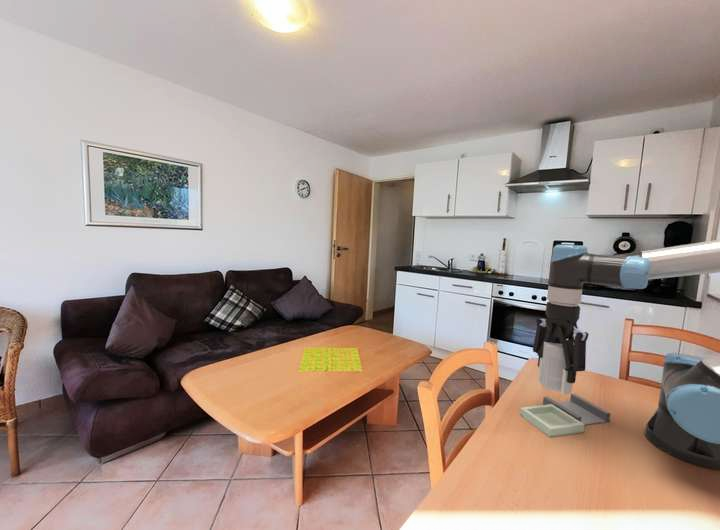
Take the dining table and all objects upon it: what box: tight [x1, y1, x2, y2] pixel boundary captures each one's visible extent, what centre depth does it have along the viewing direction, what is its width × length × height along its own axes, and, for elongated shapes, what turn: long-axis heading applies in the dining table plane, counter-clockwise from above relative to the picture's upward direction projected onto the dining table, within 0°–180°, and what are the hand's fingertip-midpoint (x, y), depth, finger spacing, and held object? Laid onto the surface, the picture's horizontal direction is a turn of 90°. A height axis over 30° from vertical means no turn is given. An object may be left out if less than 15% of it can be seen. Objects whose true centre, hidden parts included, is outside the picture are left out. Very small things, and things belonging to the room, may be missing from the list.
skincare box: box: [539, 342, 566, 393], centre depth 83 cm, size 6×4×12 cm
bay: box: [542, 393, 612, 426], centre depth 90 cm, size 11×12×2 cm
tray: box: [519, 404, 585, 438], centre depth 84 cm, size 10×11×2 cm
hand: (553, 386), depth 83 cm, fingers closed on skincare box, 7 cm apart
